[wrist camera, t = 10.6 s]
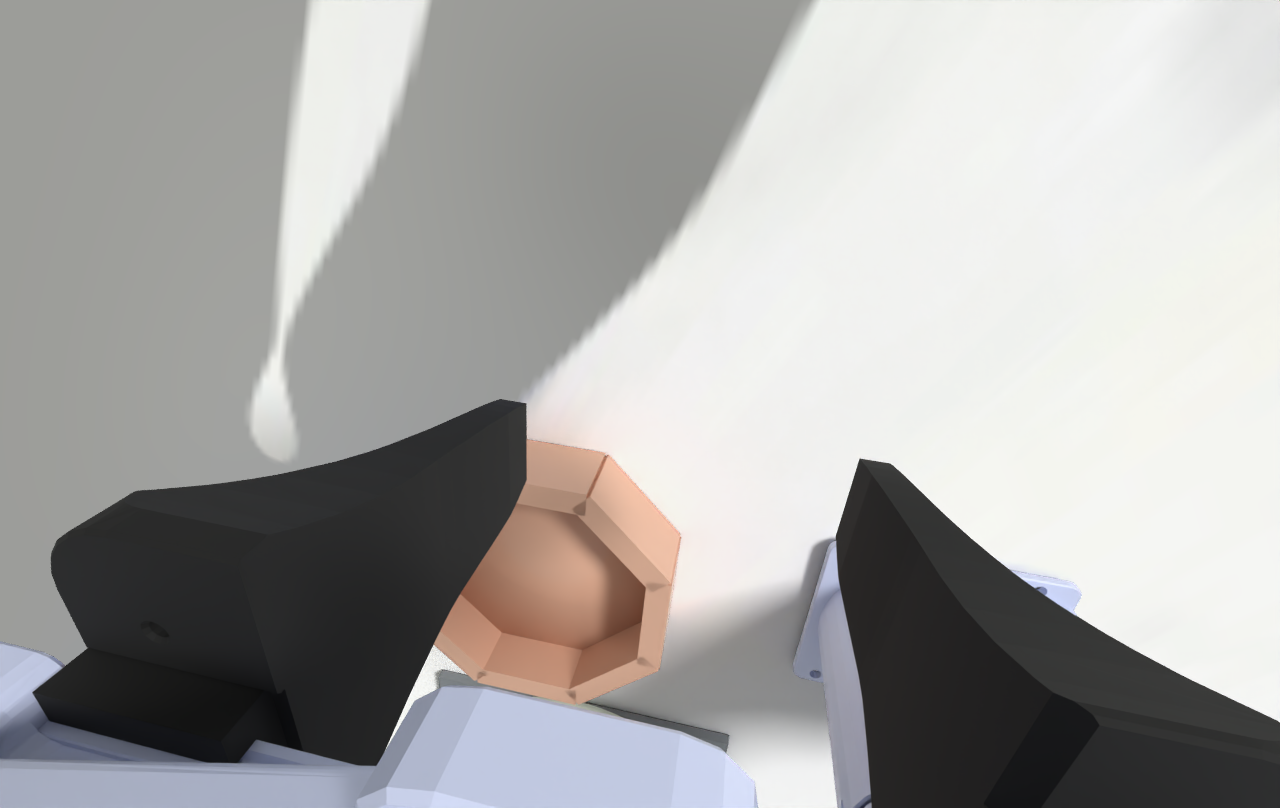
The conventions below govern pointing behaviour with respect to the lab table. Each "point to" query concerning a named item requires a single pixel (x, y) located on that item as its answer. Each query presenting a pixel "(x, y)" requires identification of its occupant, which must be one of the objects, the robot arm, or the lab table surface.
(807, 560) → the lab table surface
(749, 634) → the lab table surface
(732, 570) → the lab table surface
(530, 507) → the bowl
